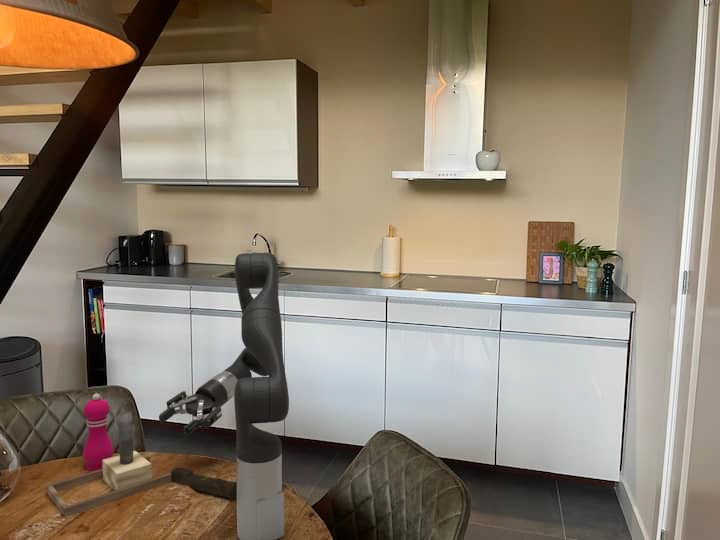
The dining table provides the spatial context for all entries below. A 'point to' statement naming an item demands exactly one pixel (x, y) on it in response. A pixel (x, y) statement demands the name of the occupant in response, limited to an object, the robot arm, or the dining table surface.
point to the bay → (100, 499)
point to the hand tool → (205, 483)
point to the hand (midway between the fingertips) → (172, 426)
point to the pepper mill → (97, 433)
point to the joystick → (126, 459)
